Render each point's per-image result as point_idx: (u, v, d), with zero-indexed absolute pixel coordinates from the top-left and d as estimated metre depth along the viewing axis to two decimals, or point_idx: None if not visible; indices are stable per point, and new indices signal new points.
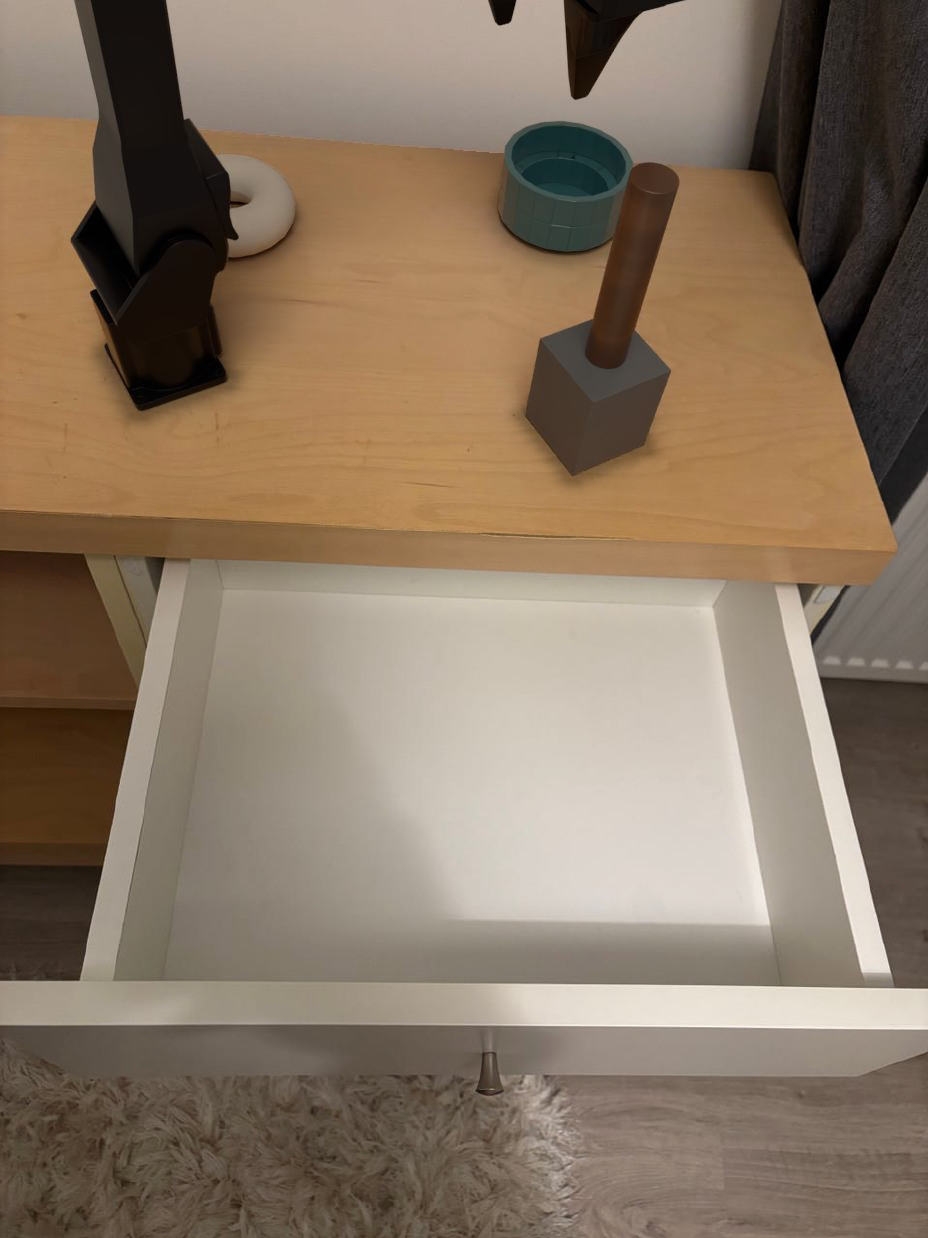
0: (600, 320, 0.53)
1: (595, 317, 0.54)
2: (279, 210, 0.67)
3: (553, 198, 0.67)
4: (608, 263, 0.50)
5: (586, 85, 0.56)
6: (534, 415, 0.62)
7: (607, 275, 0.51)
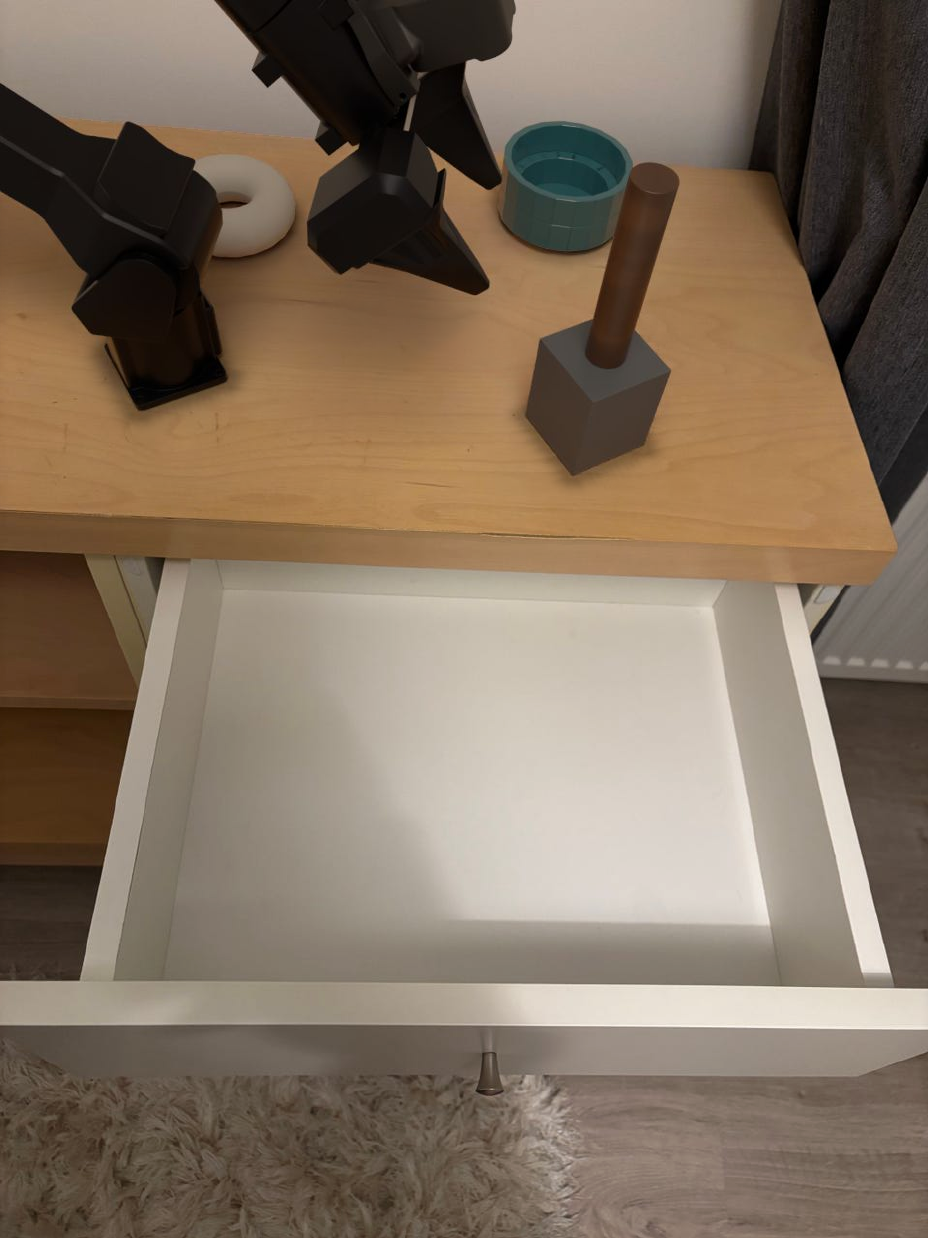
0: (600, 320, 0.53)
1: (595, 317, 0.54)
2: (279, 210, 0.67)
3: (553, 198, 0.67)
4: (608, 263, 0.50)
5: (471, 283, 0.48)
6: (534, 415, 0.62)
7: (607, 275, 0.51)
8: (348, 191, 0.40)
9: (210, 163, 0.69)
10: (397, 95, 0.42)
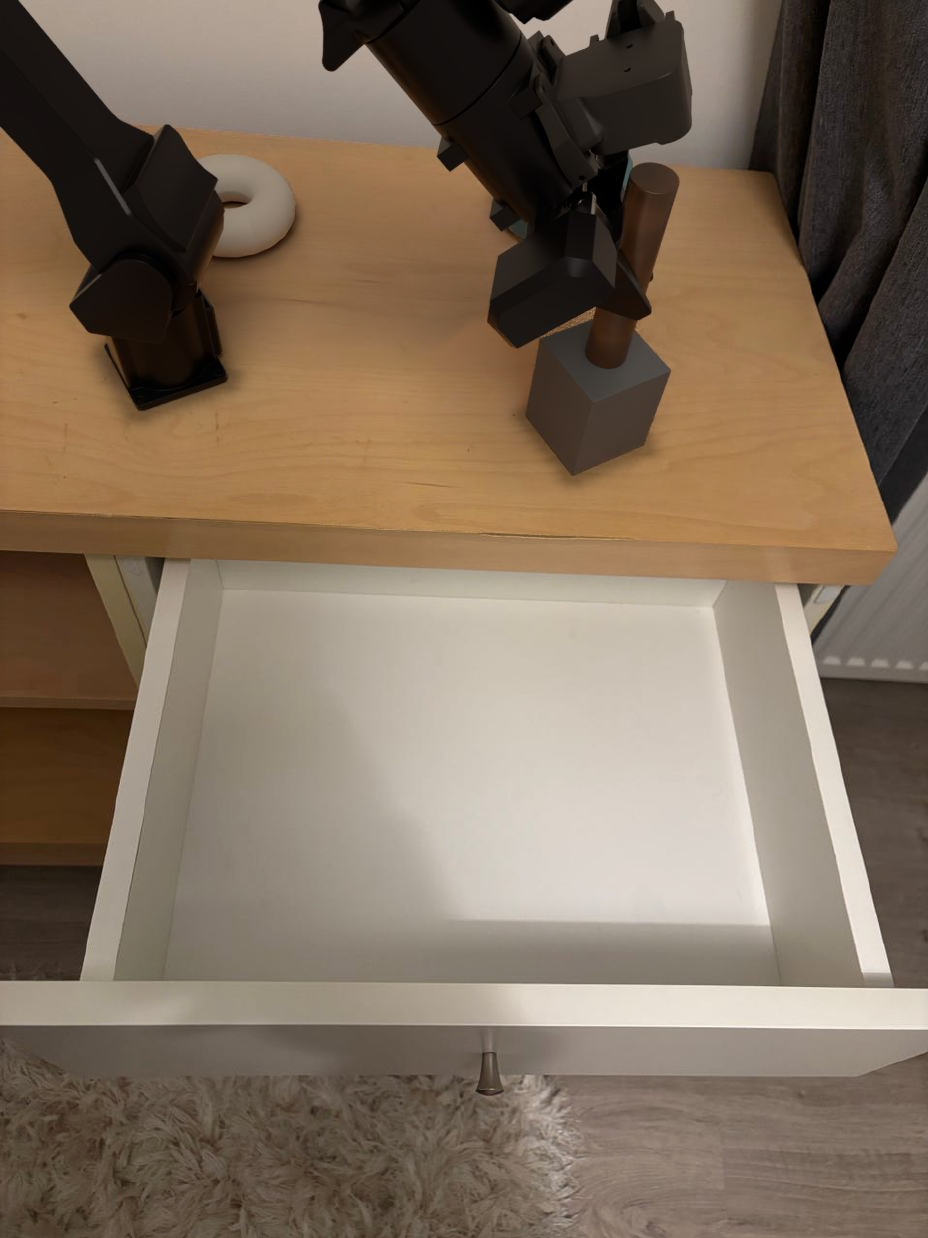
0: (600, 320, 0.53)
1: (595, 317, 0.54)
2: (279, 210, 0.67)
3: None
4: None
5: (635, 309, 0.51)
6: (534, 415, 0.62)
7: None
8: (534, 273, 0.42)
9: (210, 163, 0.69)
10: (576, 177, 0.44)
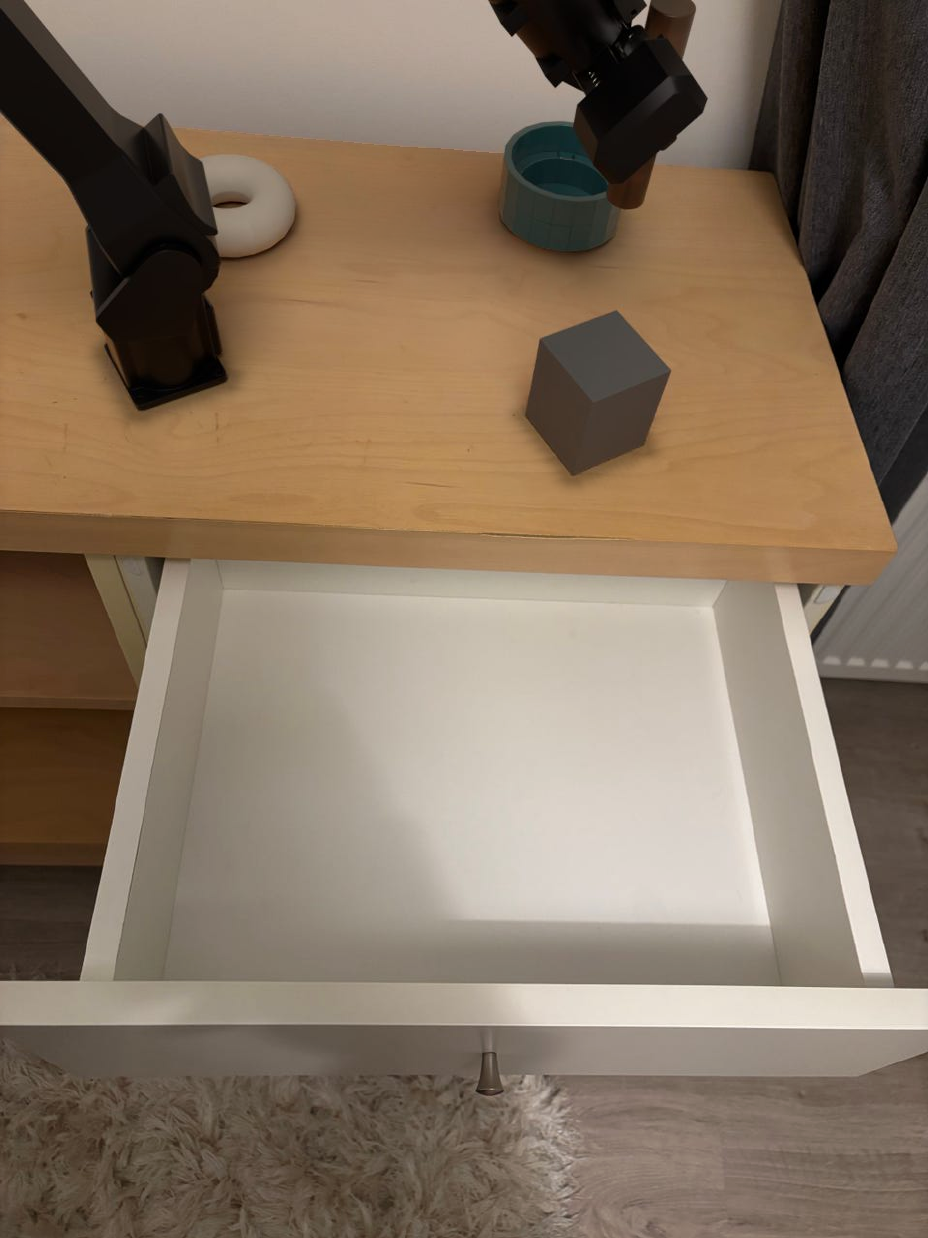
0: None
1: None
2: (279, 210, 0.67)
3: (553, 198, 0.67)
4: None
5: None
6: (534, 415, 0.62)
7: None
8: (639, 101, 0.45)
9: (210, 163, 0.69)
10: (629, 12, 0.47)
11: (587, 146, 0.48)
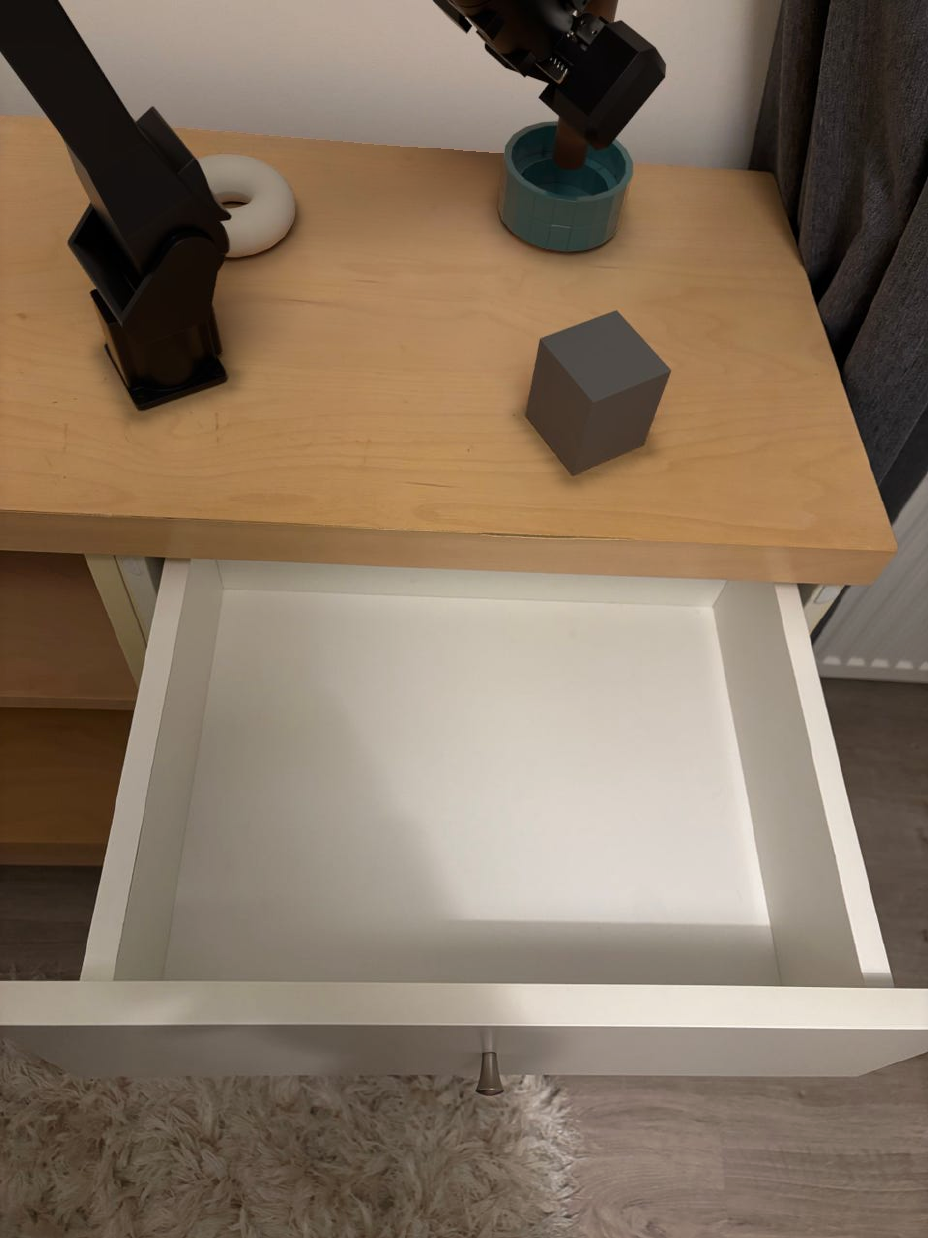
0: None
1: (565, 129, 0.66)
2: (279, 210, 0.67)
3: (553, 198, 0.67)
4: None
5: None
6: (534, 415, 0.62)
7: None
8: (618, 77, 0.54)
9: (210, 163, 0.69)
10: (581, 3, 0.56)
11: (574, 122, 0.56)
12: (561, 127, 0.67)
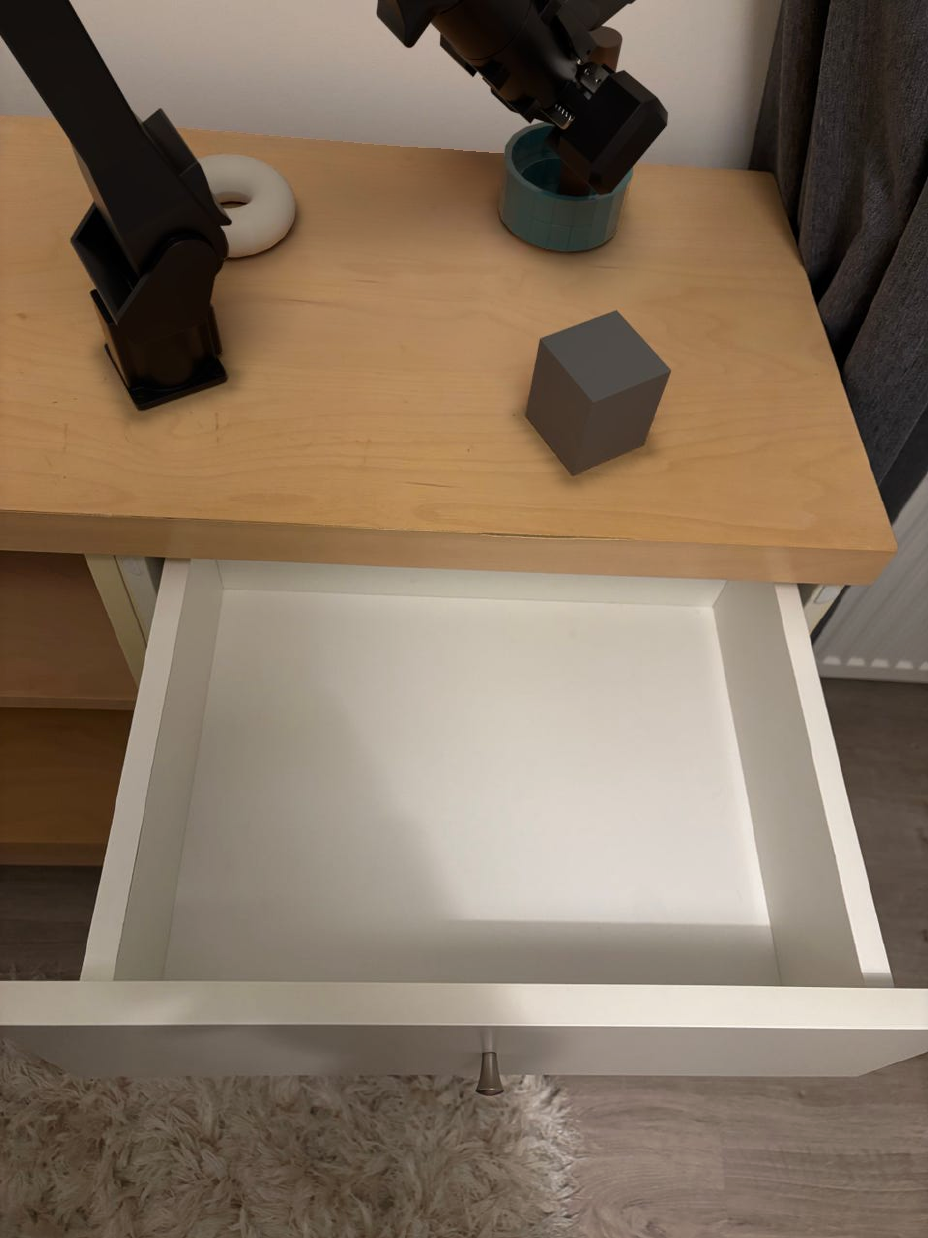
0: None
1: (569, 168, 0.68)
2: (279, 210, 0.67)
3: (553, 198, 0.67)
4: None
5: None
6: (534, 415, 0.62)
7: None
8: (621, 126, 0.56)
9: (210, 163, 0.69)
10: (585, 53, 0.57)
11: (579, 168, 0.58)
12: (565, 166, 0.68)
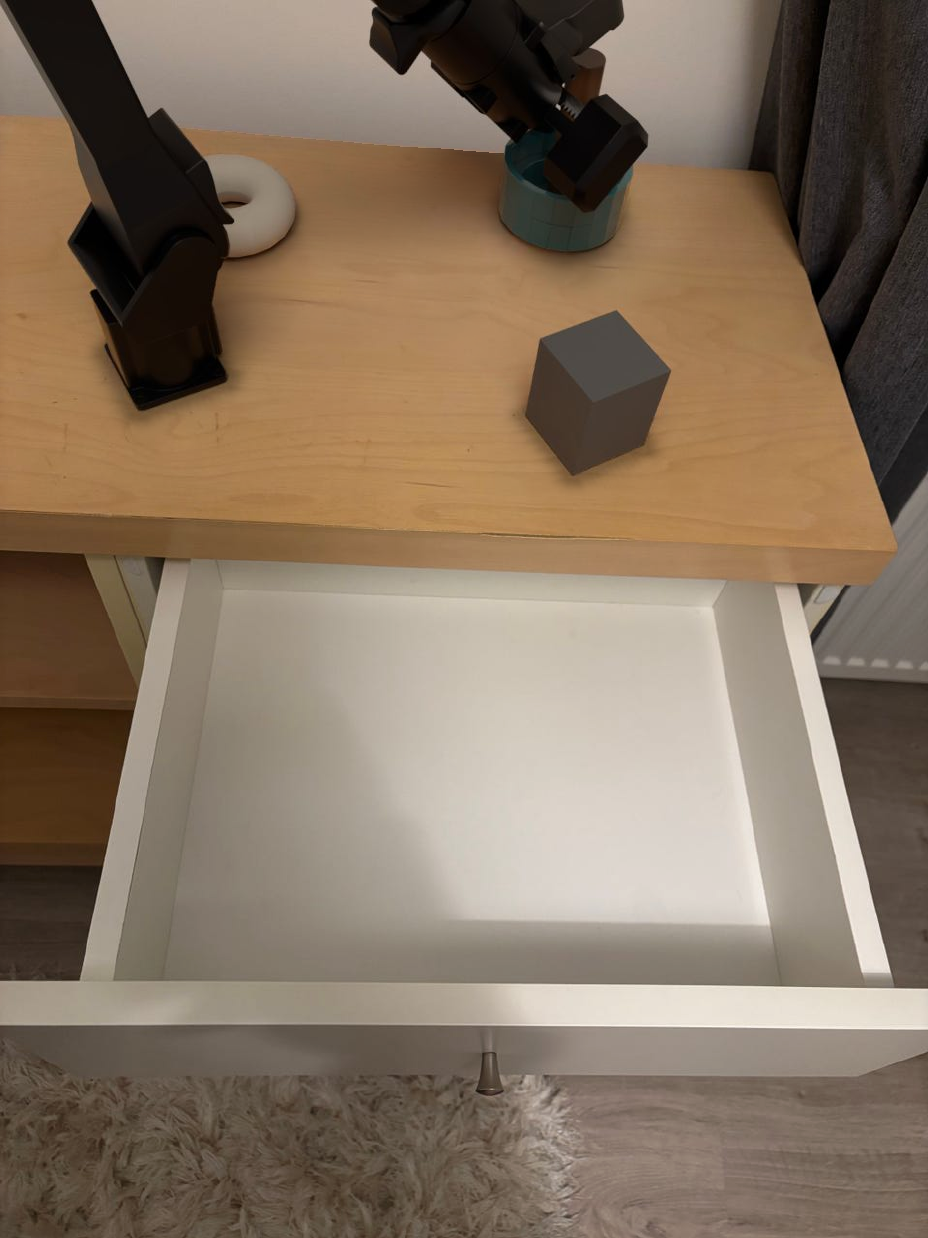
0: None
1: None
2: (279, 210, 0.67)
3: (553, 198, 0.67)
4: None
5: None
6: (534, 415, 0.62)
7: None
8: (603, 148, 0.58)
9: (210, 163, 0.69)
10: (569, 77, 0.60)
11: (563, 188, 0.60)
12: None
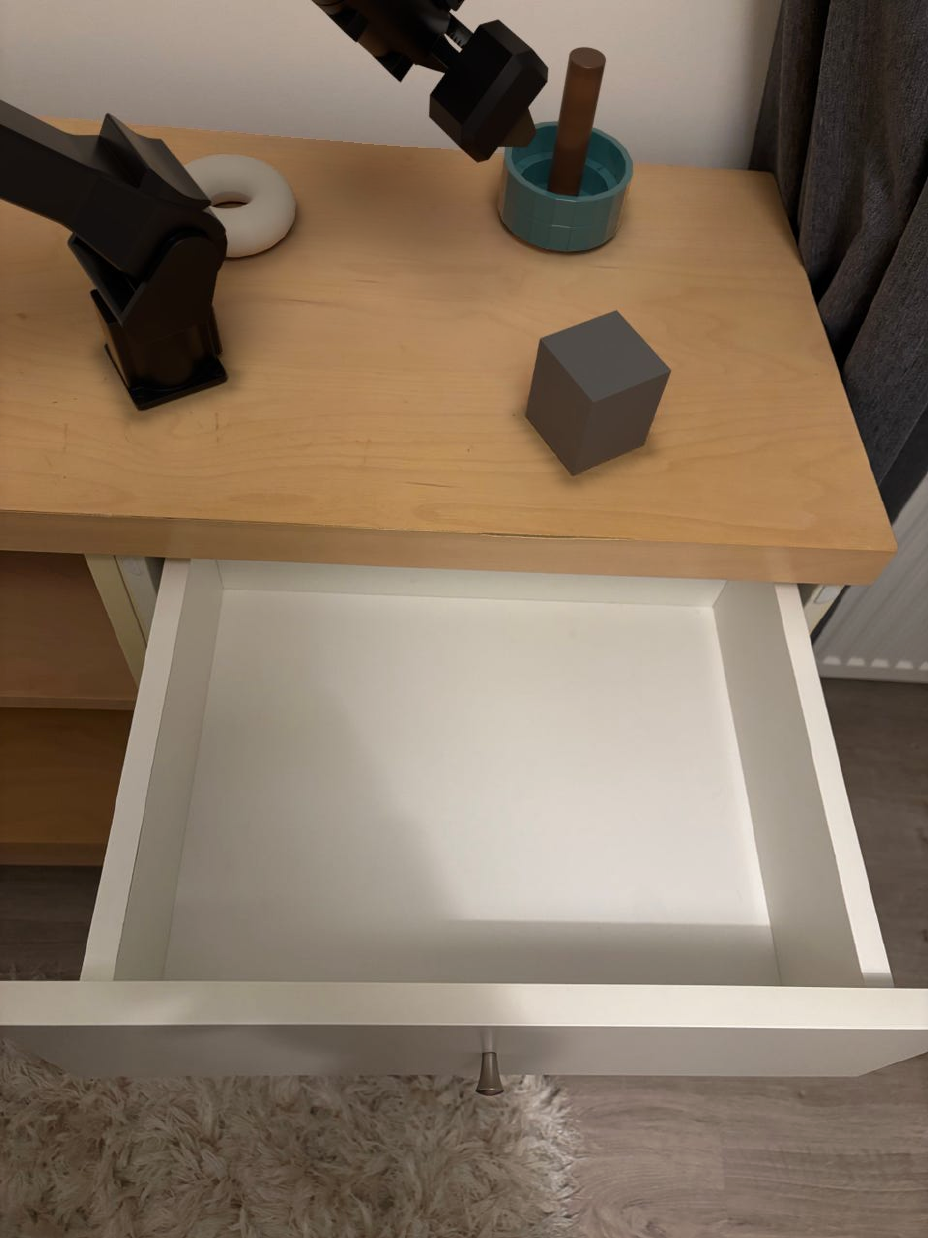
0: (563, 182, 0.70)
1: (556, 182, 0.70)
2: (279, 210, 0.67)
3: (553, 198, 0.67)
4: (563, 136, 0.67)
5: (527, 135, 0.58)
6: (534, 415, 0.62)
7: (564, 145, 0.67)
8: (492, 82, 0.49)
9: (210, 163, 0.69)
10: (456, 1, 0.51)
11: (450, 131, 0.51)
12: (552, 181, 0.70)
